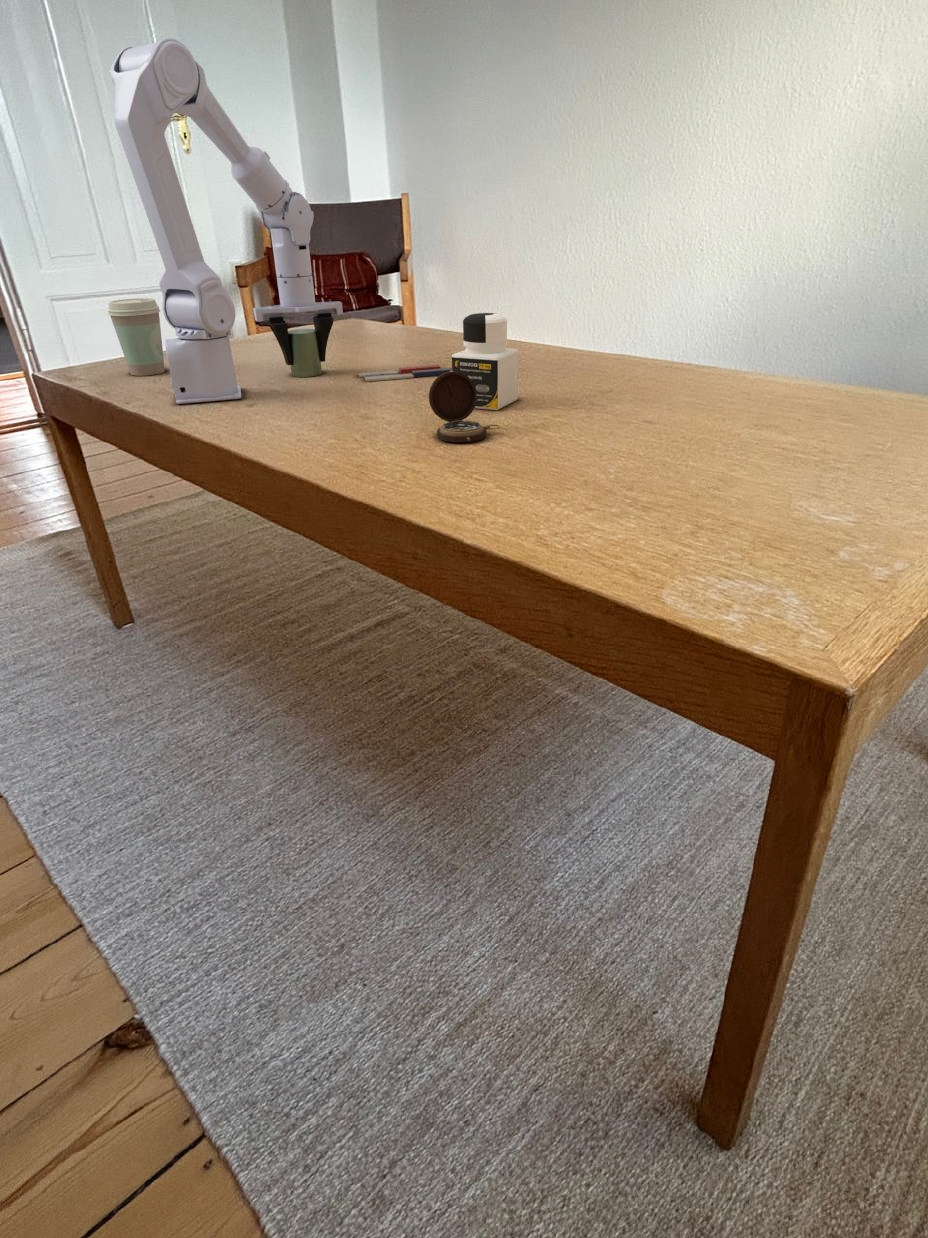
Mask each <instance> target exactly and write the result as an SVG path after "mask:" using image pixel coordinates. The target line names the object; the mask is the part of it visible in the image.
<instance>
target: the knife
mask: <svg viewBox="0 0 928 1238" xmlns="http://www.w3.org/2000/svg"><path fill="white" fill-rule="evenodd" d="M450 370H452V367H446V368H445V367H443V368H442V367H441V368H440V369H430V370H418V371H412V373H409V374H400V373H398V374H397V375H385V376H373V377H364V380H365V382H366V383H368V382H378V381H379V382H381V381H392V380H403V379H414V378H425V377H438V376H440V375H441V374H443V373H445V372H449V371H450Z"/></svg>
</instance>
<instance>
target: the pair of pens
mask: <svg viewBox="0 0 928 1238" xmlns="http://www.w3.org/2000/svg"><path fill="white" fill-rule="evenodd" d="M430 369H441V366H440V365H439V364H431V365H430V364H429V365H419V366H417V365H416V366H406V367H398V371H397V370H395V369H394V370H385V371H373V372H372V371H371V372H361V373H360V372H359V373H357V375H358V377H359V379H361V378H364V377H373V376H385V375H397V374H409V373H412V371H418V370H430ZM364 379H365V378H364Z"/></svg>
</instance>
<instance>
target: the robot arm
mask: <svg viewBox="0 0 928 1238" xmlns="http://www.w3.org/2000/svg"><path fill="white" fill-rule="evenodd" d="M109 74H110V77H111V80H112V84H113V87H114V124H115V127H116V130H117V134H118V136H119V139H120V143H121V145H122V148H123V150H124V153H125V156H126V159H127V162H128V165H129V169H130V171H131V175H132V176H133V179H134V182H135V185H136V188H137V191H138V194H139V196H140V199H141V203H142V205H143V209H144V211H145V214H146V217H147V219H148V222H149V226H150V228H151V231H152V234H153V236H154V240H155V242H156V247H157V248H158V252H159V254H160V257H161V261H162V263H163V265H164V268H165V269H164V273H163V274H162V277H161V278H160V280H159V283H158V285H159V288H160V291H161V294H162V312H163V316H164V318H165V320H166V322H167V323H168V325H170V326H171V328H173V329H174V331H175V336H177V337H176V338H167V339H165V341H164V342H165V343H164V344H165V352H166V353H165V354H166V358H167V364H168V369H169V373H170V374H169V375H170V377H171V378H170V383H171V388H172V390H173V392H174V396H175V403H176V404H177V405H180V404H182V405H183V404H193V403H194V404H195V403H203V402H204V403H205V402H206V403H207V402H217V401H228V400H239V399H240V400H241V399H242V387H241V385H238V382H237V377H236V369H235V364H234V358H233V354H232V353H233V352H232V346H231V341H230V336H231V335H232V333H231V329H232V328H233V326H234V324H235V321H236V307H235V304H234V301H233V299H232V298H231V296H230V295H229V294H228V293H227V292H226V290H225V287H224V285H223V283H222V280H221V277H220V276H219V275H218V274H217V273H216V272H215V271H214V270H213V269H212V268H211V267H210V266H209V265H208V263H206V261H205V259H204V256H203V253H202V250H201V246H200V243H199V240H198V237H197V234H196V230H195V227H194V225H193V222H192V221H193V220H192V218H191V215H190V212H189V209H188V205H187V202H186V199H185V195H184V192H183V189H182V186H181V183H180V180H179V177H178V174H177V169H176V167H175V164H174V161H173V158H172V155H171V152H170V149H169V146H168V142H167V139H166V135H165V132H166V130H167V128H168V126H169V124H170V122H171V120H172V118H173V117H174V114H177V115H182V116H186V117H188V118H190V119H191V121H193V123H194V124H196V126H197V127H198V128H199V130H201V131H202V132H203V134H204V135H205V136H206V137H207V138H208V139H209V140H210V141H211V142H212V143H213V144H214V145H215V147H216V148H217V149H218V150H219V151H220V152H221V153H222V154H223V156H225V157H226V159H227V160H228V161H229V162H230V164H231V165H230V166H231V167H230V168H231V176H232V178H233V179H234V180H235V181H236V183H237V184H238V185H239V186H240V187H241V189H242V190H243V192H245V194H246V195H247V196H248V197H249V199H251V201H252V202H253V203H254V205H255V208H256V209H257V211H258V215H259V219H260V222H261V224H262V226H263V227H264V228H265V229H267V230H268V231H269V232H270V237H271V243H272V244H271V245H272V252H273V253H272V254H273V260H274V266H275V275H276V280H277V281H276V282H277V289H278V296H279V304H277V305H268V306H259V307H253V316H254V321H256V322H264V321H266V323H267V325H268V327H269V328H270V330H271V331H272V333H273V336H274V337H275V339H276V341H277V343H278V345H279V348H280V350H281V352H282V355H283V359H284V363H285V365H286V366H291V365H292V358H291V353H290V347H289V339H288V331H289V324H288V323H286V319H299V318H309V317H310V318H311V317H312V322H313V329H315V330H317V333H318V342H319V351H320V359H321V363H325V362H326V353H327V346H328V342H329V337H330V333H331V331H332V329H333V328H332V327H333V325H334V315H336V316H342V315H344V311H343V302H341V301H319V302H317V301H316V298H315V296H316V295H315V289H314V287H315V286H314V281H313V280H314V279H313V272H312V263H311V253H310V245H309V244H310V243H311V240H312V239H311V228H312V226H313V223H314V218H315V217H314V215H315V214H314V211H313V210H312V209H311V205H310V204H309V202H308V200H307V199H306V198H305V196H303V194H302V193H300V192H297V191H293V190H292V187H290V184H289V182H288V181H287V180H286V179H284V177H283V176H282V174H281V173H280V172H279V171H278V169H277V168H276V167H275V165H274V164H273V163H272V162H271V157H270V155H269V154H268V152H267V151H266V150H263V149H261V148H260V147H256V146H250V145H248V143H247V141H246V140H245V139H244V137H243V136H242V134H241V133H240V131H239V130H238V129H237V127H236V125H235V124H234V123H233V121H232V119H231V118H230V117H229V115H228V114H227V112H226V111H225V109H224V108H223V107H222V105H221V104H220V102H219V101H218V99H217V98H216V96H215V95H214V93H213V91H211V89H210V87H209V86H208V83H207V79H206V73H205V70H204V68H203V67H202V66H201V65H200V64H199V62H197V60H195V58H194V56H193V54H192V52H191V51H190V50H189V49H188V47H187V46H186V45H185V44H184V43H182V42H181V41H180V40H178V39H175V38H172V37H166V38H163V39H161V40H159V41H155V42H152V43H147V44H144V45H138V46H128V47H124V48H123V49H121V50H120V51H119V52H118V54H117V56H116V57H115V59H114V61H113V63H112V65H111V67H110V68H109Z"/></svg>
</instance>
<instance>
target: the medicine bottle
mask: <svg viewBox="0 0 928 1238" xmlns="http://www.w3.org/2000/svg"><path fill="white" fill-rule="evenodd" d="M462 336H463V338H462V339H463V341H462V342H463V347H465V349H464V350H462V351H459V352H455V353H453V354H452V355H451V368H452V370H453V371H455V372H460V373H463V374H465V375H466V376H468V377H469V378H470V379H471V380H472V382H473V383H474V385H475V387H476V390H477V393H476V396H477V402H476V406H475V408H474V409H477V410H489V411H499V410H501V409H503V408H504V407H507V406H508V405H510V404H512V403H514V402H516V401H517V400H518V399H519V350H518V348H511V347H506V346H508V318H507V317H506V316H505V315H503V314H501V313H496V312H478V313H470V314H469V315H467V316H466V317H464V318H463V320H462Z"/></svg>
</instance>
